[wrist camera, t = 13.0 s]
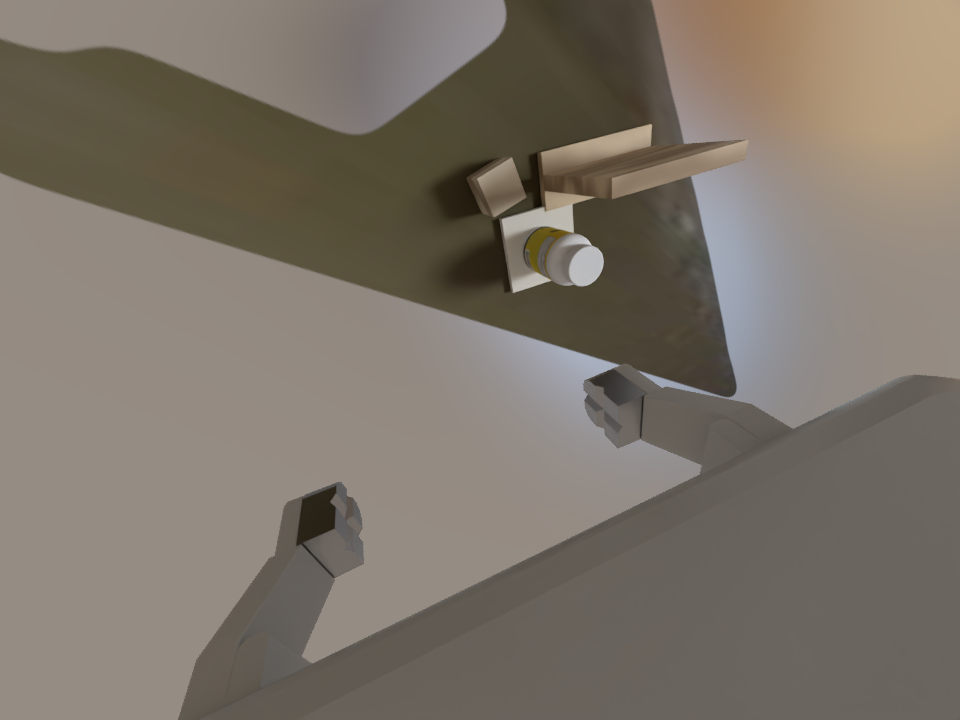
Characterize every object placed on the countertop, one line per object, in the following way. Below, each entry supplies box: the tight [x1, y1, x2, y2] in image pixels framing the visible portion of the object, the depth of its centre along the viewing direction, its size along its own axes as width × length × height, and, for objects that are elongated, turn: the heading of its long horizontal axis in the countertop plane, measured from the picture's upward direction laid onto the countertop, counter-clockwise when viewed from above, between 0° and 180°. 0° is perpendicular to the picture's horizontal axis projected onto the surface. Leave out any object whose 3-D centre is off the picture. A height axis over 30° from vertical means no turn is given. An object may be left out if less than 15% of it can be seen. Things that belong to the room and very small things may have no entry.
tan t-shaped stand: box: [537, 124, 749, 212], centre depth 35 cm, size 6×14×13 cm, turn 102°
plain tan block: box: [466, 157, 526, 217], centre depth 36 cm, size 4×4×4 cm
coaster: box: [499, 204, 574, 293], centre depth 43 cm, size 9×9×1 cm
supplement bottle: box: [522, 226, 603, 286], centre depth 38 cm, size 5×5×10 cm
